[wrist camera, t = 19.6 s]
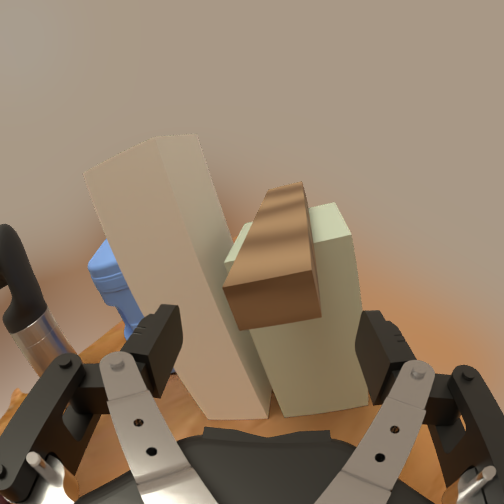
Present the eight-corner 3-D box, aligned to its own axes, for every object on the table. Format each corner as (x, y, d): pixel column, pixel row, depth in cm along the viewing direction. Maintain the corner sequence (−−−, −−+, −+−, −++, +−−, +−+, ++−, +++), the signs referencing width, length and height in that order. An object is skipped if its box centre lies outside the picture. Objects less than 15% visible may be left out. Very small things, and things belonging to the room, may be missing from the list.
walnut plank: (322, 317, 13) (311, 269, 12) (239, 330, 14) (222, 287, 13) (307, 201, 33) (301, 181, 32) (274, 209, 34) (268, 189, 33)
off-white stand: (268, 418, 30) (154, 136, 19) (208, 419, 32) (82, 173, 21) (275, 363, 39) (197, 133, 28) (224, 368, 41) (136, 158, 30)
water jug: (217, 314, 57) (165, 180, 48) (217, 365, 42) (141, 192, 33) (150, 332, 57) (92, 210, 48) (133, 383, 43) (50, 233, 33)
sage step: (368, 405, 27) (351, 234, 20) (284, 417, 30) (223, 262, 23) (358, 349, 37) (334, 202, 29) (288, 361, 39) (244, 223, 32)
